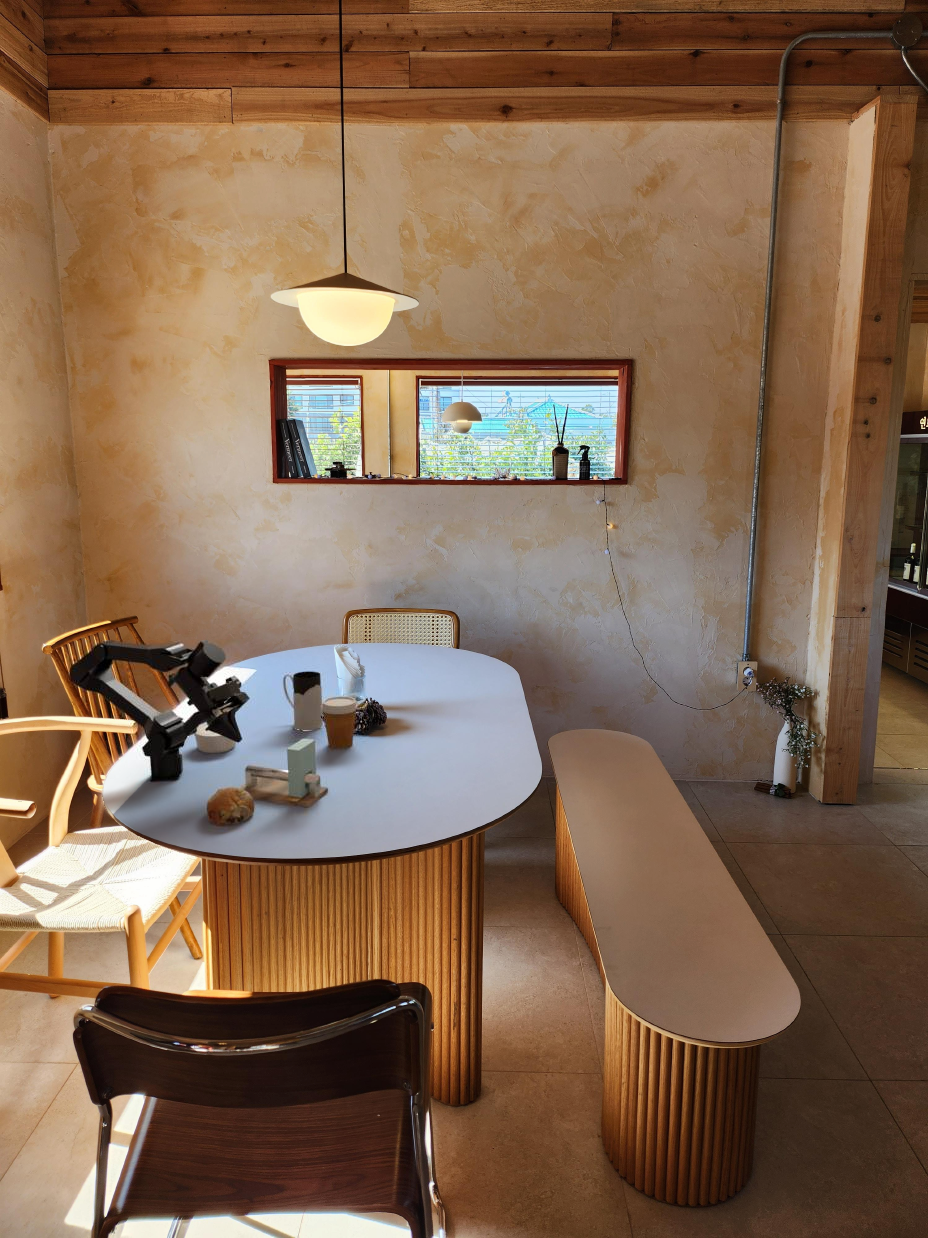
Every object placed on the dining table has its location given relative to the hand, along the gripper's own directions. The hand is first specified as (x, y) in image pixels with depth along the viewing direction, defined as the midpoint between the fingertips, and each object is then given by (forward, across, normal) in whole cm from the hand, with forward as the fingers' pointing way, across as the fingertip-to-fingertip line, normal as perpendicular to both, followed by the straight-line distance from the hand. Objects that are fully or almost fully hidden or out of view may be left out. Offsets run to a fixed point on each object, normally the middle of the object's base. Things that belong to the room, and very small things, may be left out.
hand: (240, 741), depth 190 cm
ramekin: (-7, +21, +24) cm, 32 cm away
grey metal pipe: (+15, 0, -1) cm, 15 cm away
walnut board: (+15, 0, +1) cm, 15 cm away
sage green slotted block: (+18, 0, -5) cm, 19 cm away
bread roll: (+13, -14, +4) cm, 19 cm away
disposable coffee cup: (+14, +33, +2) cm, 36 cm away
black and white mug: (+1, +45, +15) cm, 47 cm away
